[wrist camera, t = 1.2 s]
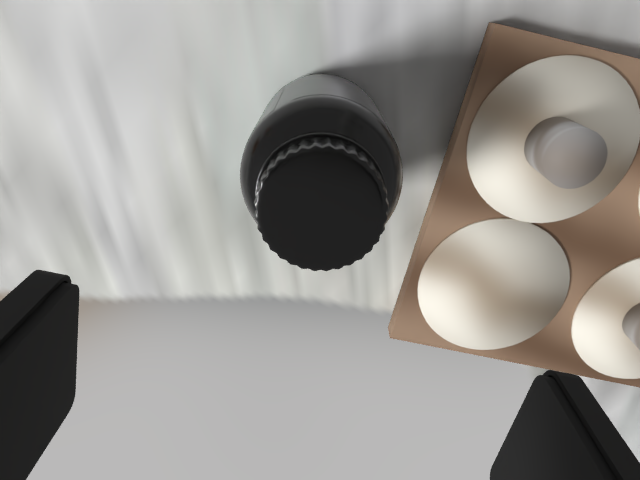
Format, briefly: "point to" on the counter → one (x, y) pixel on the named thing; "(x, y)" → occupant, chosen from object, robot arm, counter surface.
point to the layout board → (535, 214)
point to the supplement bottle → (321, 173)
